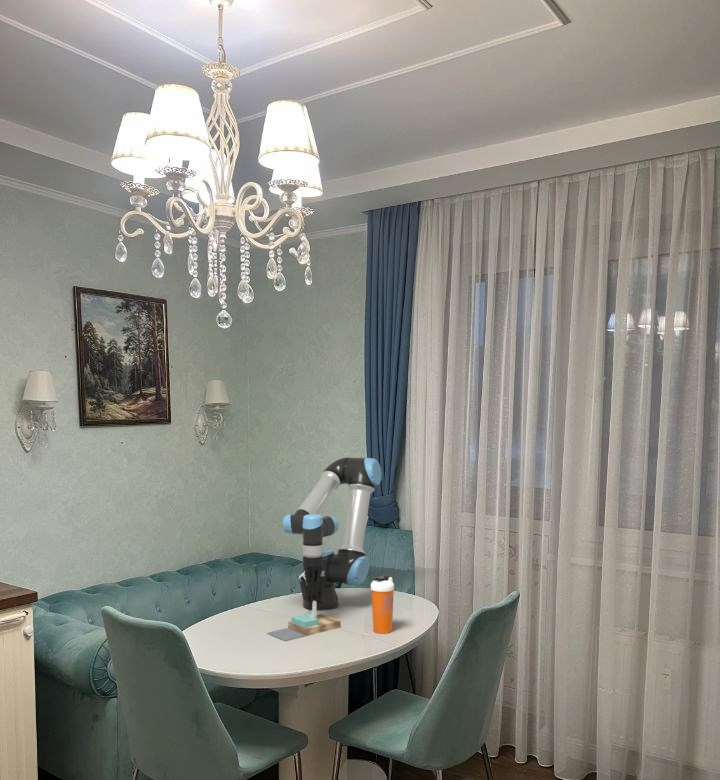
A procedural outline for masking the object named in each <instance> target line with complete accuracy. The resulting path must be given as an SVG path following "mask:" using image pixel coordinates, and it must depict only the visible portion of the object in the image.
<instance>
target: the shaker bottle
mask: <svg viewBox="0 0 720 780" xmlns="http://www.w3.org/2000/svg"><path fill="white" fill-rule="evenodd" d="M393 581H394V580H393V577H391V576H388V575H386V574H384V575H382V576H375V577H373V581H371V583H370V591H371V592H370V593H371V610H372V612H371V613H372V631H373V633H376V634H381V635H383V634H385V635H386V634H390V633H392V631H393V617H394V616H393V615H394V590H395V583H394V582H393Z"/></svg>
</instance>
